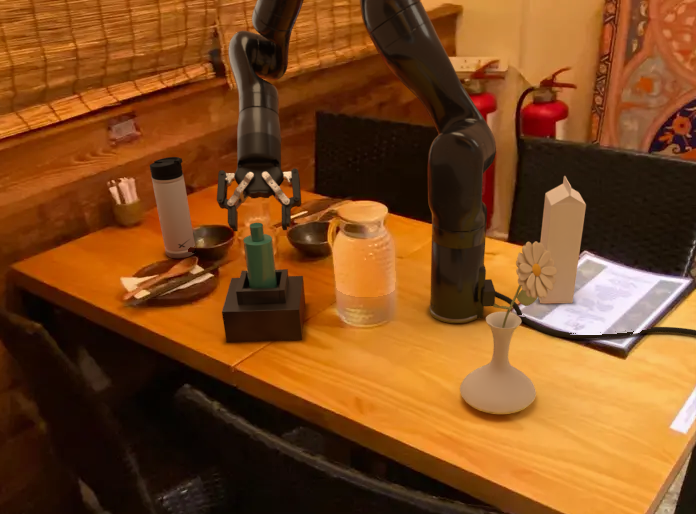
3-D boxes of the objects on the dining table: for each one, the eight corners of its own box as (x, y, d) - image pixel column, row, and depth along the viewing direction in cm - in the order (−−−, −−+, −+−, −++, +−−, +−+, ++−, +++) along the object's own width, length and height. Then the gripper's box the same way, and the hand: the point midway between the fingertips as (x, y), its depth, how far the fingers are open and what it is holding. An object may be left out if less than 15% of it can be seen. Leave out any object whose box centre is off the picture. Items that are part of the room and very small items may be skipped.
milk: (540, 304, 144) (552, 187, 131) (535, 289, 149) (546, 175, 136) (573, 303, 144) (588, 186, 131) (567, 288, 149) (581, 174, 136)
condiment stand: (305, 305, 145) (302, 262, 140) (301, 340, 135) (298, 296, 130) (235, 307, 145) (229, 265, 140) (226, 342, 134) (219, 298, 129)
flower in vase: (482, 429, 113) (494, 270, 98) (446, 389, 121) (452, 238, 107) (559, 407, 117) (580, 252, 102) (518, 370, 125) (533, 222, 111)
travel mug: (190, 260, 163) (174, 164, 151) (161, 257, 164) (142, 163, 152) (202, 247, 168) (187, 154, 156) (173, 245, 169) (156, 153, 157)
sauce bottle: (278, 286, 138) (271, 219, 131) (276, 298, 134) (269, 230, 127) (251, 287, 138) (243, 219, 131) (248, 299, 134) (239, 231, 127)
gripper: (213, 131, 132) (213, 221, 129) (297, 129, 132) (299, 219, 130) (222, 153, 140) (222, 238, 137) (301, 151, 140) (303, 236, 137)
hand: (259, 229), depth 133 cm, fingers open, 8 cm apart
